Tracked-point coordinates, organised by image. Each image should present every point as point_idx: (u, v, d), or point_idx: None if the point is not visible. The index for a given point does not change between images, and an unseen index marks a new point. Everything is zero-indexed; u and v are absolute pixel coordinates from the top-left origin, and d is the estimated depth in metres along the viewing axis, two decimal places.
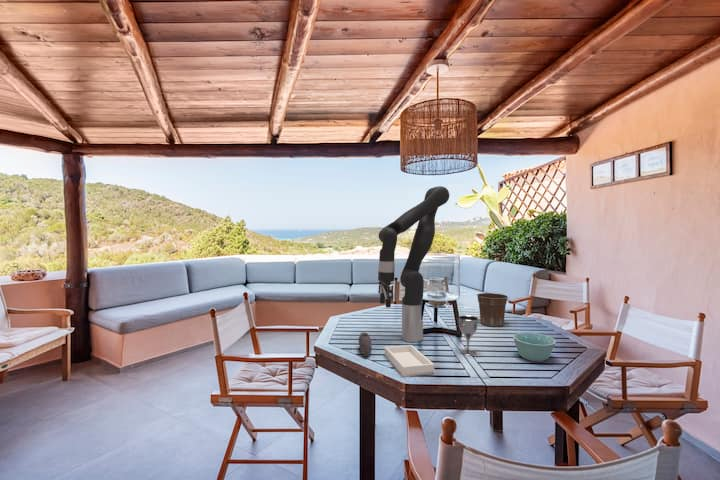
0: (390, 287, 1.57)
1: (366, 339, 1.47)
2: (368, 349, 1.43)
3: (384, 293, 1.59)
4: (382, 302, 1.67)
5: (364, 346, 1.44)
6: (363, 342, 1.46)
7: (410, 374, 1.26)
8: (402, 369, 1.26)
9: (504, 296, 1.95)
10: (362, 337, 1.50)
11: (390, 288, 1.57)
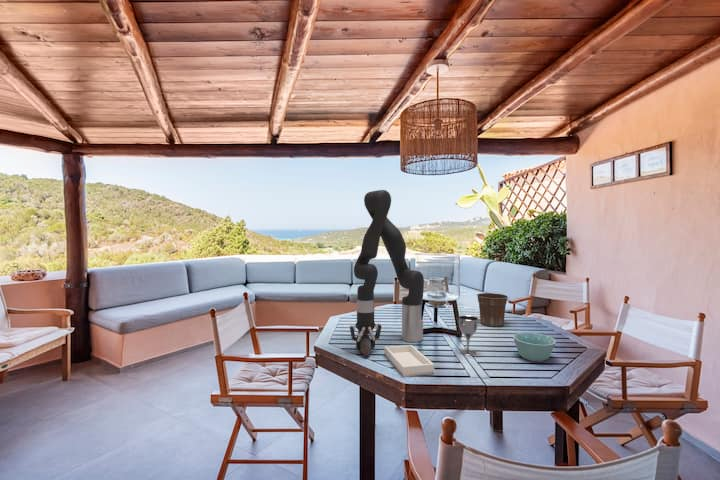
0: None
1: (366, 339, 1.47)
2: (368, 349, 1.43)
3: (372, 335, 1.48)
4: None
5: (364, 346, 1.44)
6: (363, 342, 1.46)
7: (410, 374, 1.26)
8: (402, 369, 1.26)
9: (504, 296, 1.95)
10: (362, 337, 1.50)
11: None
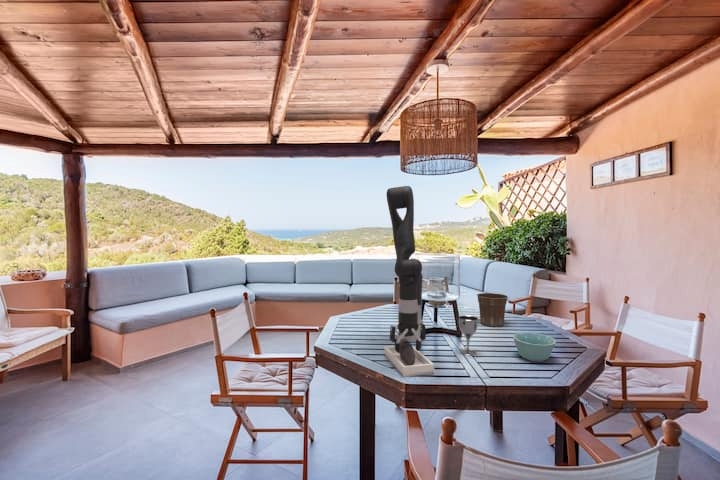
0: None
1: (409, 347, 1.35)
2: (413, 358, 1.30)
3: (417, 336, 1.36)
4: None
5: (408, 354, 1.31)
6: (406, 350, 1.33)
7: (410, 374, 1.26)
8: (402, 369, 1.26)
9: (504, 296, 1.95)
10: (404, 344, 1.37)
11: None
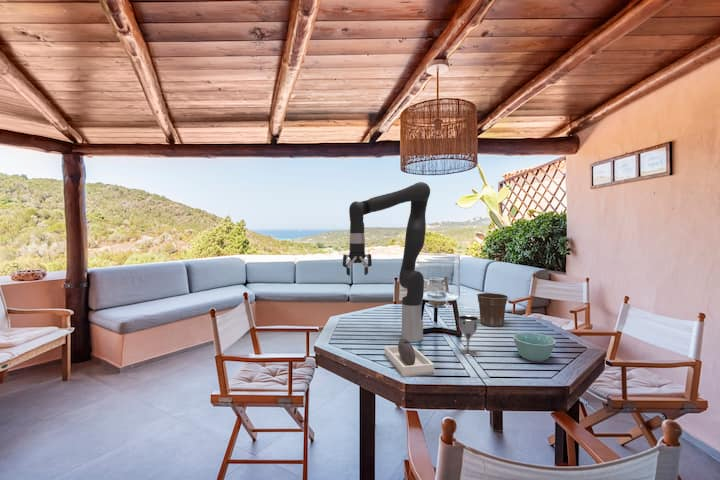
0: None
1: (409, 347, 1.35)
2: (413, 358, 1.30)
3: (364, 262, 1.71)
4: None
5: (408, 354, 1.31)
6: (406, 350, 1.33)
7: (410, 374, 1.26)
8: (402, 369, 1.26)
9: (504, 296, 1.95)
10: (404, 344, 1.37)
11: None
